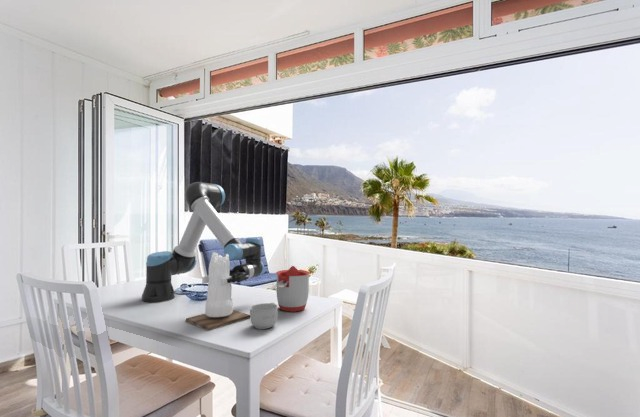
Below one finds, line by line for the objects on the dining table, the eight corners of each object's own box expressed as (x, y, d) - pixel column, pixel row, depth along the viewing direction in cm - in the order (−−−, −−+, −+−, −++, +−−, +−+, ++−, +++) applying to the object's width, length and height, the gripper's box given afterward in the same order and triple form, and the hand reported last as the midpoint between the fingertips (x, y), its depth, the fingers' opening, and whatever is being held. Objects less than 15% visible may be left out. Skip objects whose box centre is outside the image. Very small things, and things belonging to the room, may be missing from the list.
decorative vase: (237, 313, 137) (238, 253, 137) (212, 319, 130) (214, 255, 130) (224, 307, 145) (225, 250, 145) (200, 312, 137) (202, 252, 138)
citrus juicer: (266, 311, 150) (266, 266, 151) (288, 302, 165) (289, 262, 166) (294, 316, 142) (295, 270, 143) (315, 307, 157) (315, 265, 158)
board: (185, 321, 134) (185, 318, 134) (227, 310, 150) (227, 308, 150) (208, 330, 124) (208, 327, 124) (250, 317, 140) (250, 315, 140)
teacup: (264, 333, 122) (265, 311, 122) (243, 327, 128) (243, 307, 128) (287, 323, 134) (287, 303, 134) (267, 318, 140) (267, 299, 140)
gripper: (262, 282, 151) (234, 293, 130) (223, 278, 158) (190, 288, 136) (262, 265, 151) (235, 273, 130) (223, 263, 158) (191, 270, 136)
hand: (212, 281), depth 133 cm, fingers open, 8 cm apart
